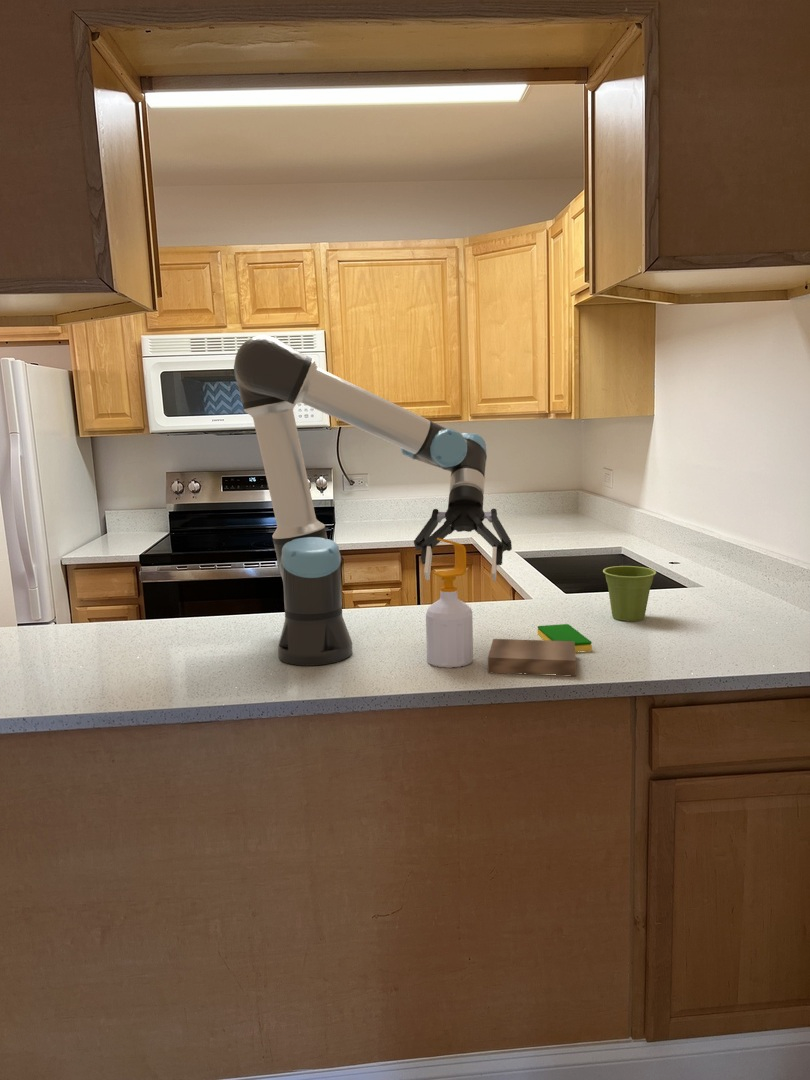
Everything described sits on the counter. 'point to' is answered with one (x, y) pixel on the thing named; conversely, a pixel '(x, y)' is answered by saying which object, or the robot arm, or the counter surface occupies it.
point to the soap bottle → (450, 620)
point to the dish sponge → (565, 636)
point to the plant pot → (629, 591)
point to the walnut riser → (532, 657)
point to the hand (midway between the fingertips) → (459, 577)
